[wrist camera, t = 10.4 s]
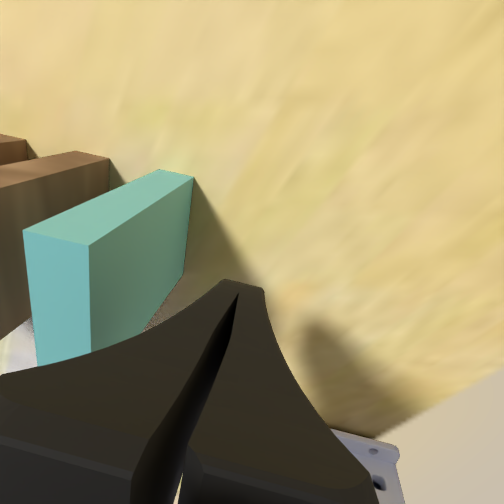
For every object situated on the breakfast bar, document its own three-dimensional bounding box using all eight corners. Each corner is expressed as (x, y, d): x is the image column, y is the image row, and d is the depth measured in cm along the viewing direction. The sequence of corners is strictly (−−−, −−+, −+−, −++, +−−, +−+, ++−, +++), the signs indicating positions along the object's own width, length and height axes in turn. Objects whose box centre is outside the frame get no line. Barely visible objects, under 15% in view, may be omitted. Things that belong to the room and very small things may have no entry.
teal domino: (193, 176, 15) (88, 245, 8) (182, 274, 17) (92, 400, 10) (159, 169, 15) (22, 230, 8) (152, 267, 17) (39, 387, 10)
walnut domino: (109, 158, 15) (-73, 207, 8) (108, 256, 17) (-36, 367, 10) (75, 150, 15) (-135, 192, 8) (78, 249, 17) (-85, 354, 10)
